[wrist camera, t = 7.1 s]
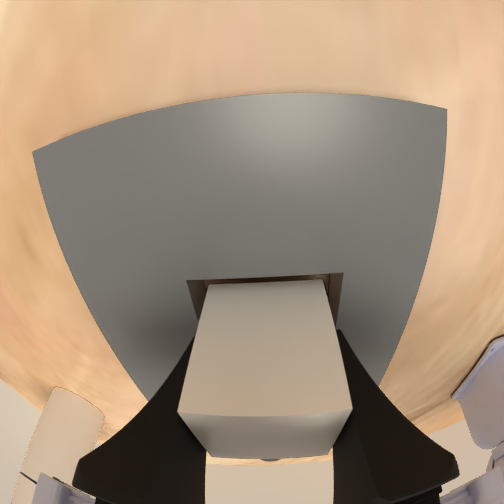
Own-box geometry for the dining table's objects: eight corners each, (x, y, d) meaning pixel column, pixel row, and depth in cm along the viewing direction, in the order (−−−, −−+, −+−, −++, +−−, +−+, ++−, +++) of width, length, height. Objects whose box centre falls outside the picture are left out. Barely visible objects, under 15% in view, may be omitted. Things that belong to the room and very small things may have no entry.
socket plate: (361, 385, 17) (366, 407, 15) (161, 389, 18) (155, 410, 16) (418, 105, 8) (447, 108, 6) (61, 141, 9) (32, 151, 7)
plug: (311, 372, 14) (320, 465, 9) (230, 375, 14) (220, 467, 9) (322, 279, 10) (352, 409, 6) (209, 284, 11) (177, 412, 6)
